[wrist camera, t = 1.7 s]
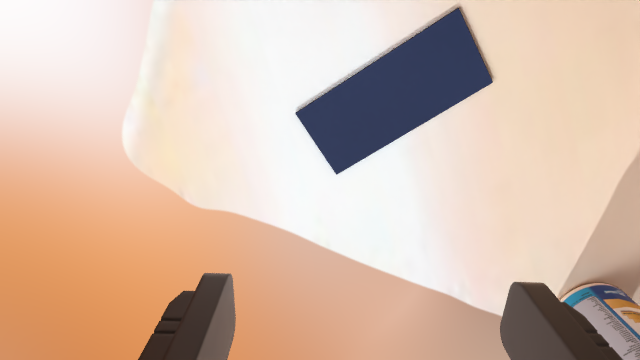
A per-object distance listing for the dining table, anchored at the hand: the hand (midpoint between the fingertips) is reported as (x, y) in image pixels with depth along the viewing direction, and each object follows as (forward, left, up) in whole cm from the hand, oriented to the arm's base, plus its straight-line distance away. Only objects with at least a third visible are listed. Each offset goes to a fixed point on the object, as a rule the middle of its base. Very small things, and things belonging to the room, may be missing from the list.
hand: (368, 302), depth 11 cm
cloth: (-5, +1, -25) cm, 26 cm away
